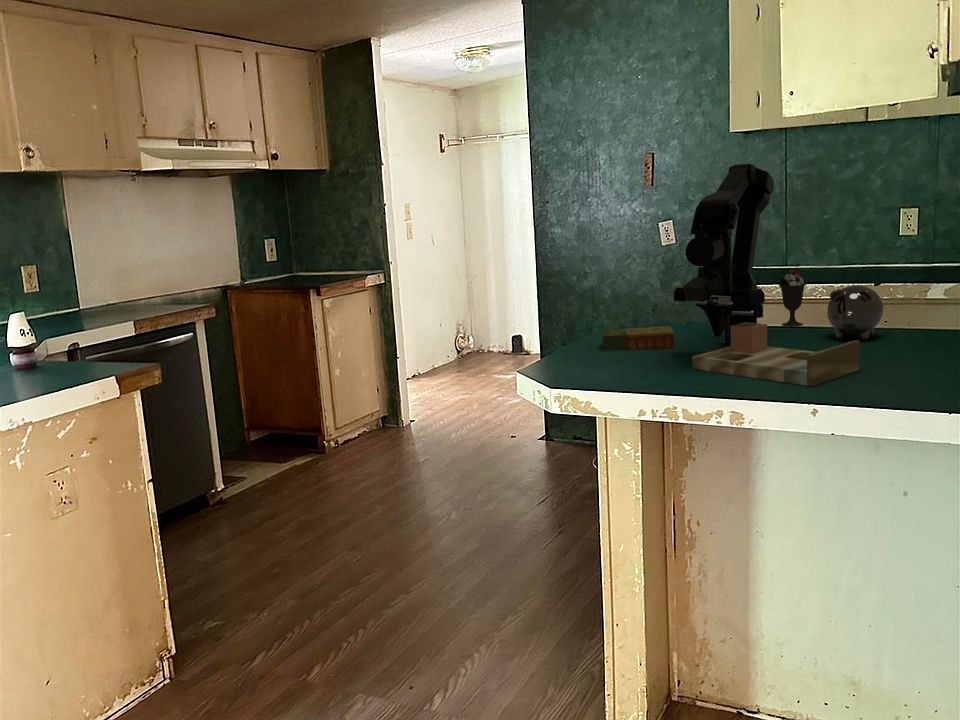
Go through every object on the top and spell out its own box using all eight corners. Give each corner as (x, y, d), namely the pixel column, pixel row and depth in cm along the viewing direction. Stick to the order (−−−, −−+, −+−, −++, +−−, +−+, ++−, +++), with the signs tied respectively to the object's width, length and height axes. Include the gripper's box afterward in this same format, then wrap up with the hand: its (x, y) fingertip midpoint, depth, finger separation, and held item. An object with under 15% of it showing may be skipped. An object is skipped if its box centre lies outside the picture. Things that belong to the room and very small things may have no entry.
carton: (674, 350, 185) (674, 331, 184) (602, 353, 188) (601, 334, 187) (671, 343, 193) (671, 325, 192) (602, 346, 196) (601, 328, 195)
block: (730, 350, 167) (730, 325, 166) (745, 346, 170) (745, 322, 169) (752, 352, 163) (752, 327, 162) (767, 348, 166) (767, 324, 165)
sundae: (807, 322, 205) (808, 262, 202) (805, 327, 199) (806, 265, 196) (779, 322, 208) (779, 263, 205) (776, 327, 202) (776, 265, 199)
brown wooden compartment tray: (692, 368, 164) (692, 341, 163) (741, 355, 173) (740, 329, 172) (812, 386, 144) (812, 355, 143) (859, 369, 153) (859, 340, 152)
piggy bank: (819, 342, 180) (819, 290, 178) (834, 330, 192) (835, 281, 190) (875, 344, 174) (876, 290, 172) (887, 332, 186) (888, 281, 184)
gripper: (655, 264, 171) (657, 338, 174) (732, 266, 156) (732, 347, 159) (689, 258, 178) (690, 330, 181) (766, 260, 163) (766, 338, 166)
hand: (718, 336), depth 171 cm, fingers closed
